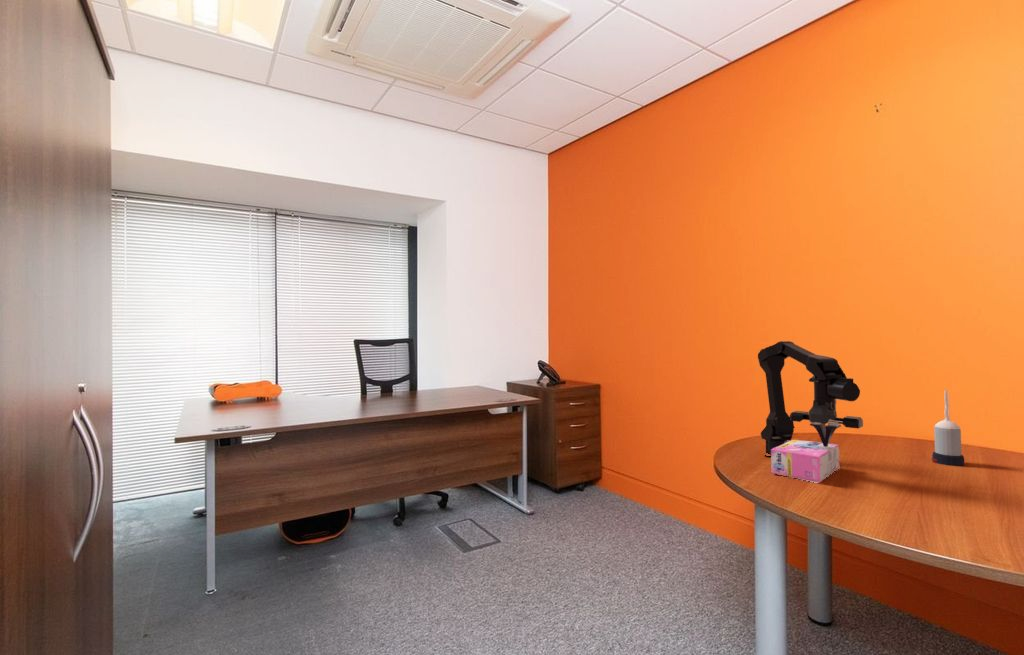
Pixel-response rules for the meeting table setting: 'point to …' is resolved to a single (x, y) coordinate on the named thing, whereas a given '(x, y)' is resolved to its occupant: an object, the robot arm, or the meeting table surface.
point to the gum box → (805, 459)
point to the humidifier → (947, 441)
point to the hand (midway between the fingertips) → (825, 446)
